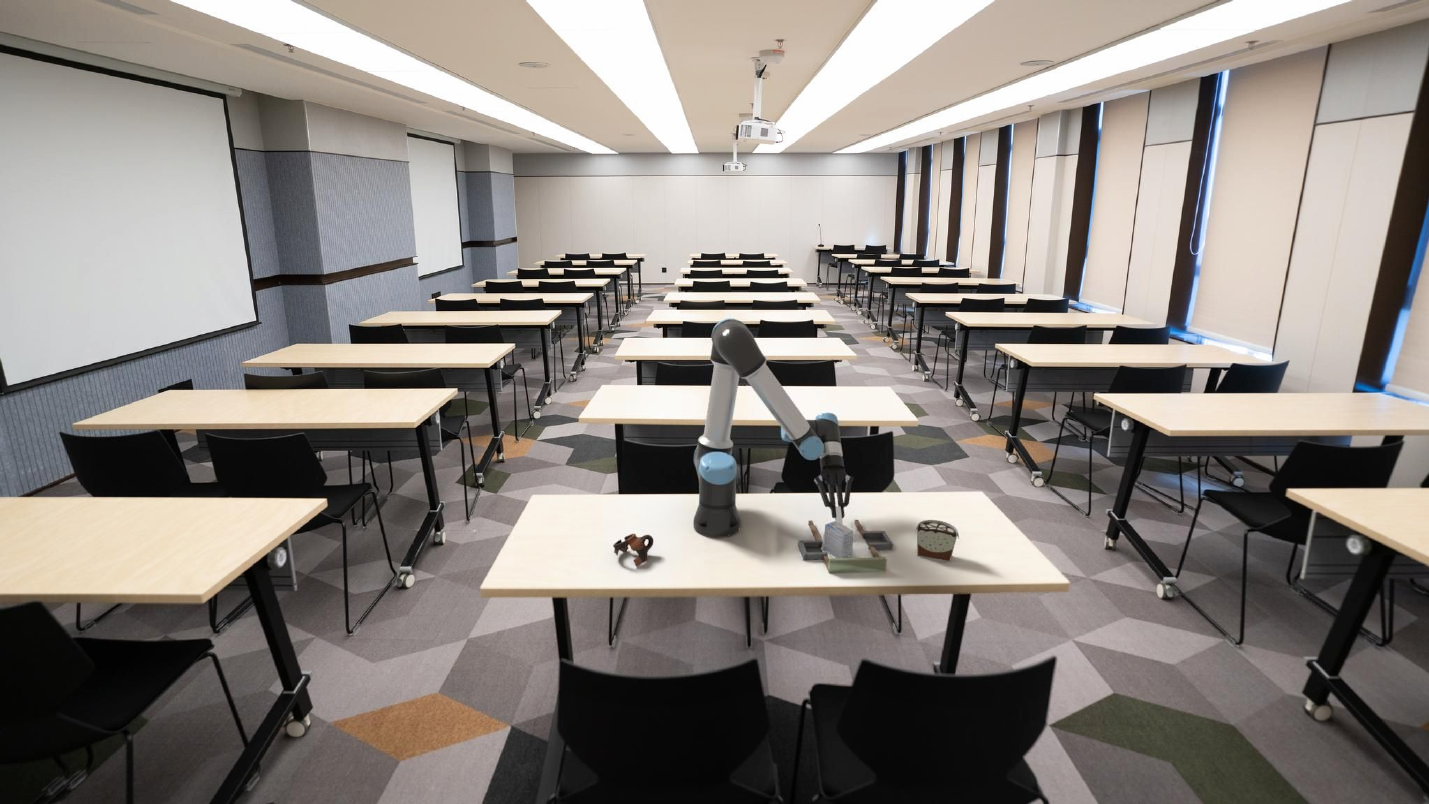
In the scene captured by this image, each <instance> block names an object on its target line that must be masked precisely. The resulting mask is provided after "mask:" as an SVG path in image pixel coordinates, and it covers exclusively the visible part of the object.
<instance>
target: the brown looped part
mask: <svg viewBox="0 0 1429 804" xmlns="http://www.w3.org/2000/svg"><path fill="white" fill-rule="evenodd" d="M623 537H624V541H622V539H619V540H618V541H616V542H615V543H613V545H612V547H613V548H614V550H613V553H614V554H615V555H616V556H618V555H619V552H622V553H623V554H627V553H628V550H629V548H630V550H631V551H633V552H636V553H637V555H638V556H637V557H636V558H634V559H633V563H634V565H635V567H639V566H641V565H642V564H643V563H646V562H647V561H648V559H649V558H648V552H649V551H650V550H651V548H652V547H653V545H654V538H653V536H652V535H650V534H644V535H643V536H637V535H636V533H631V534H628V535H626V536H623ZM646 541H647V544H646Z"/></svg>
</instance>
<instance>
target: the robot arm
mask: <svg viewBox="0 0 1429 804" xmlns="http://www.w3.org/2000/svg"><path fill="white" fill-rule="evenodd" d="M710 338H711V341H712V342H711V343H712V345H711V352H710V357H709V358H710V359H709V360H710V361H711V362H712V364H713V370H712V371H713V372H712V375H711V376H712V377H711V385H710V391H709V396H708V397H709V398H708V404H707V411H706V418H705V425H704V431H703V434H702V435H701V436H699V438H698V439H697V446H696V448H695V450H694V454H693V465H694V466H695V470H696V474H697V478H698V485H699V486H698V488H699V489H698V491H699V493H698V496H699V497H698V506H697V508H696V510H695V514H694V516H693V522H692V523H693V529H694V530H695V531H696V532H697V533H698V534H700V535H703V536H705V537H706V536H707V537H710V538H725V537H730V536H733V535H735V534H737V533H738V532H740V530H741V517H740V513H739V512H738V508H737V505H736V504H737V502H736V500H737V499H736V498H737V496H736V495H737V473H738V466H737V461H736V459H735V458H734V456H732V454H733V447H734V442H733V440H731V432H732V431H731V430H732V424H733V418H734V412H735V408H736V407H735V405H736V400H737V393H738V387H739V381H740V378H741V379H744V380H745V381H747V383H748V384H749V385H750V387H751V388H752V390H753V391H754V392H755V393H756V395H757V397H758V398H759V399H760V401H761V402H762V403H763V405H764V406H765V407H766V409H768V411H769V412H770V414H771V415H772V417H773V418H774V419H775V420H776V421H777V423H778V424H779V426H780V435H781V436H780V437H781V439H782V441H783V442H788V443H793V445H794V446H795V448H796V449H797V450H798V451H799V454H800V455H801V456H802V457H803V459H806V460H808V461H814V460H817V459H820V460H819V463H820V464H819V465H820V473H819V475H818V476H815V477H814V480H813V482H814V483H815V485H816V486H817V488H818V491H819V494H820V497H821V499H822V501H823V504H824V505H823V506H824V507H826V508H829V509H830V513H831V517H832V518H831V519H834V521H836V522H838V523H840V524H842V525H844V524H843V519H845V515H846V514H845V508H847V507H848V506H849V504H850V500H851V499H850V497H851V491H852V490H851V489H852V484H853V481H854V479H855V477H854V476H852V475H851V476H850V475H848V474H847V472H846V470H845V464H844V458H843V449H842V442H841V435H840V434H841V433H840V425H839V420H838V416H837V415H836V414H834V413H833V412H832V413H831V412H824V413H823V412H822V413H820V414H817V415H816V416H815V419H806V418H805V416H804V415H803V413H802V412H801V411H800V409H799V408H798V406H797V405H796V404H795V403H794V401H793V400H792V399H791V397H790V396H789V394H788V393H787V392H786V390H785V389H784V387H783V385H782V384H781V383H780V382H779V380H778V378H776V376H775V375H774V374H773V372H772V370H770V368H769V366H768V365H767V358H766V357H765V355H764V353H763V352H762V350H761V349H760V347H759V345H758V343H757V341H756V339H755V337H754V335H753V333H752V332H751V330H749V328H748V327H747V325H746V324H745V323H744V322H743V321H741V320H739V319H735V318H731V317H730V318H724V319H722V320H720V321H719V322H717V323H716V324H715V326H714V327H713V329H712V332H711V337H710ZM844 480H845V484H846V485H845V491H844V495H843V488H842V484H843V481H844ZM823 482H824V483H825V484H826V485H827V489H828V493H827V491H826V488H825V486H824V483H823ZM834 486H835V489H834ZM835 490H836V495H835ZM835 496H836V497H835ZM836 498H837V504H836ZM836 505H837V506H836Z"/></svg>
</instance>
